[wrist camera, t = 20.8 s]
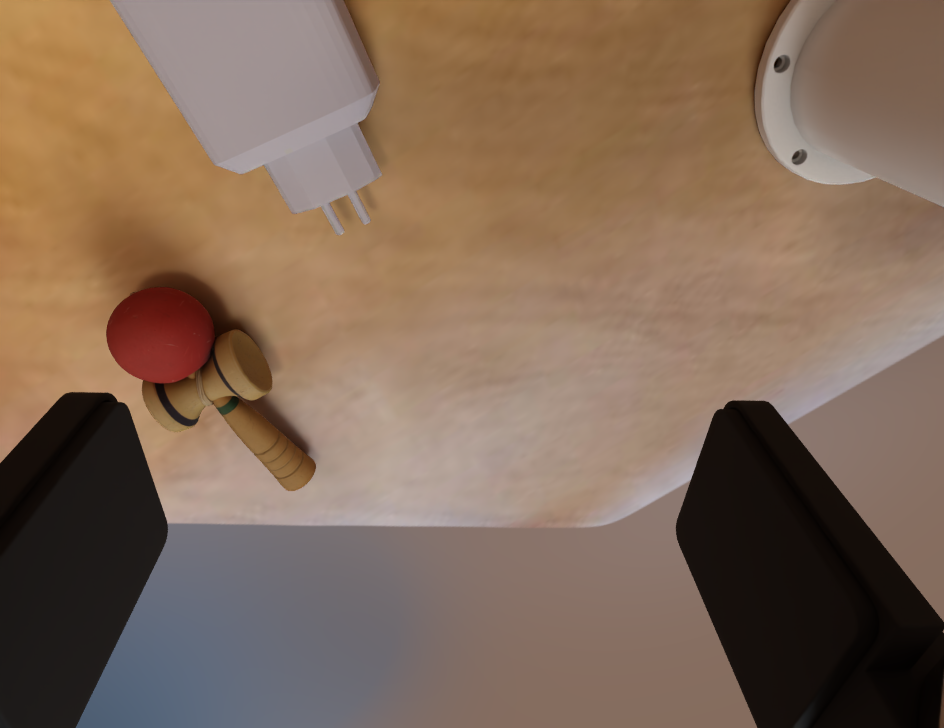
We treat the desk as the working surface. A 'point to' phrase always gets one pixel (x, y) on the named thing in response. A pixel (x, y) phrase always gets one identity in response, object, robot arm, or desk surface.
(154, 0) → the charger
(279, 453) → the kendama
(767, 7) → the desk surface
